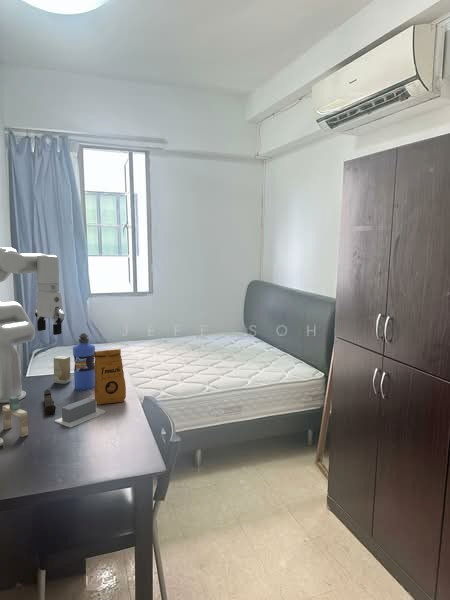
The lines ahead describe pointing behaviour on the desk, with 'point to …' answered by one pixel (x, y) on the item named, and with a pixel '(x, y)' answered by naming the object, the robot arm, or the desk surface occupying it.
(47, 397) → the hand tool
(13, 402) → the wooden arch block
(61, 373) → the skincare box
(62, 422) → the mat
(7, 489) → the desk surface
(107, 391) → the coffee package
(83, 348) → the blue bottle
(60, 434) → the desk surface
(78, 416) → the grey block with cap
